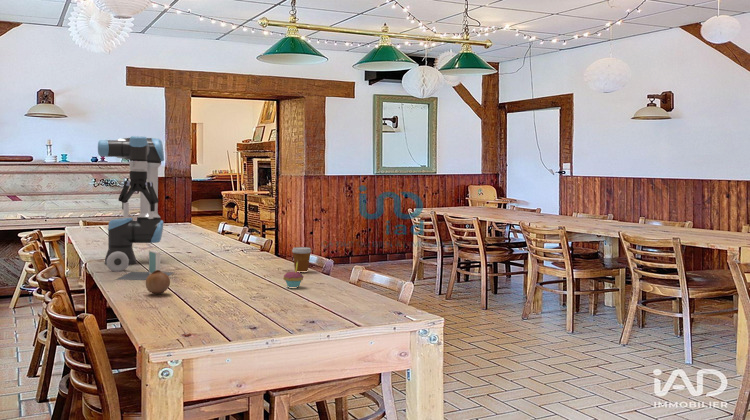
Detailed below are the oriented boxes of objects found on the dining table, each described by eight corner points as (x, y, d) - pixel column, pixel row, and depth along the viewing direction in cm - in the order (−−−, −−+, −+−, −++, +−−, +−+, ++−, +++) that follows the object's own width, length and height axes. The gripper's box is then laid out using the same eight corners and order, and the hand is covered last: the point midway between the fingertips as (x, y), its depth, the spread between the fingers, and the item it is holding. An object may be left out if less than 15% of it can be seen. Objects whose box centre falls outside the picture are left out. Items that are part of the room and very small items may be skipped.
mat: (131, 272, 327) (131, 271, 326) (174, 273, 327) (174, 272, 327) (115, 280, 305) (115, 279, 305) (161, 281, 305) (161, 280, 305)
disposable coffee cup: (288, 272, 338) (288, 248, 337) (297, 270, 346) (297, 246, 346) (305, 274, 334) (305, 249, 333) (314, 271, 343) (314, 247, 342)
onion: (156, 297, 270) (156, 272, 269) (140, 295, 275) (140, 270, 274) (175, 294, 278) (175, 269, 277) (159, 291, 283) (159, 267, 282)
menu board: (153, 273, 323) (153, 249, 323) (160, 276, 315) (160, 252, 315) (148, 273, 322) (148, 250, 321) (156, 276, 314) (156, 252, 313)
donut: (128, 271, 331) (128, 250, 330) (129, 272, 328) (129, 251, 327) (106, 272, 327) (106, 251, 326) (106, 273, 324) (106, 252, 323)
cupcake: (306, 287, 301) (306, 259, 300) (297, 290, 293) (298, 262, 292) (288, 285, 304) (288, 258, 303) (279, 288, 296) (280, 260, 295)
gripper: (110, 170, 311) (110, 217, 312) (156, 171, 302) (155, 220, 304) (121, 169, 318) (121, 215, 319) (166, 171, 309) (166, 218, 311)
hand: (138, 218), depth 311 cm, fingers open, 13 cm apart
